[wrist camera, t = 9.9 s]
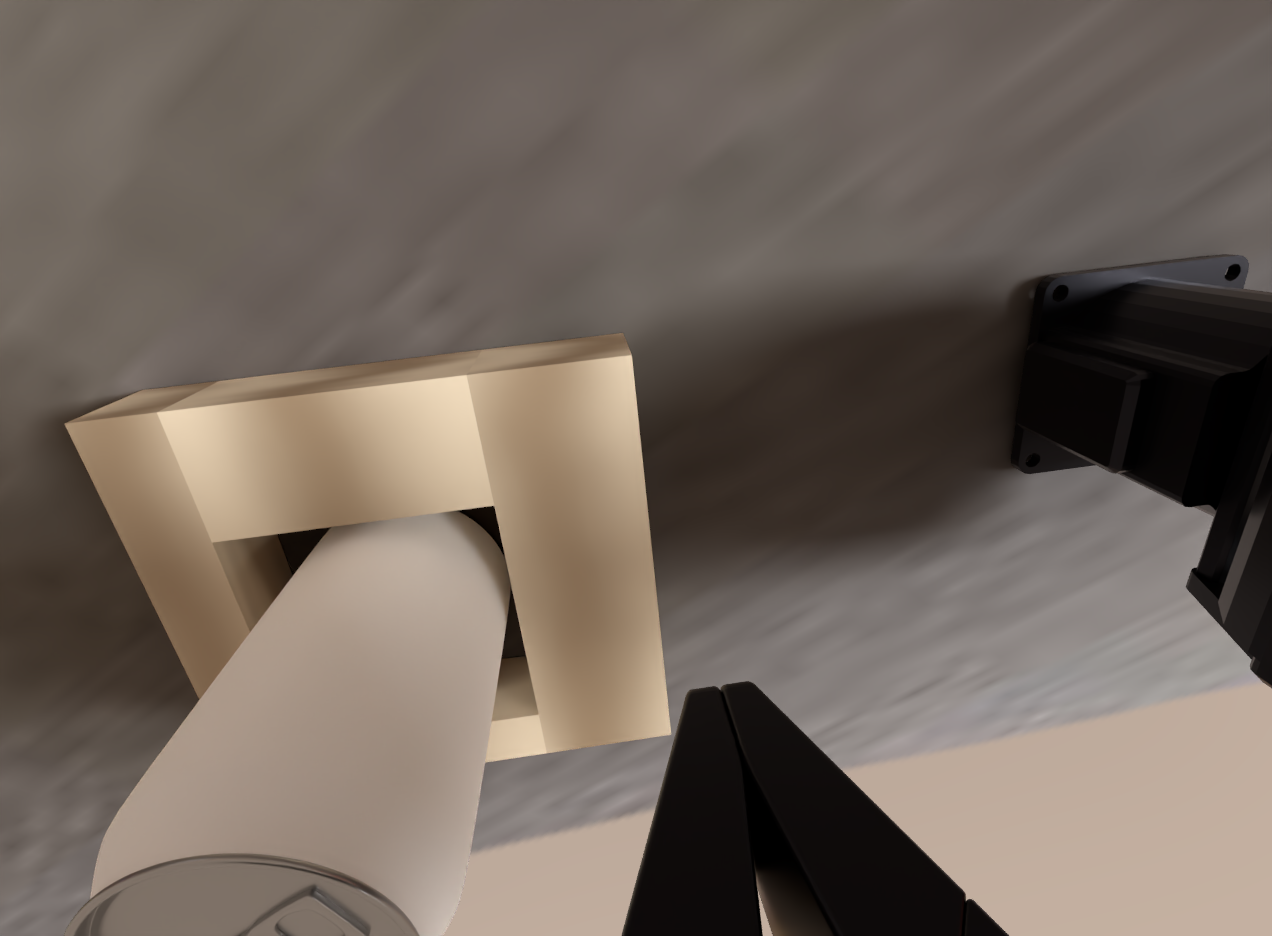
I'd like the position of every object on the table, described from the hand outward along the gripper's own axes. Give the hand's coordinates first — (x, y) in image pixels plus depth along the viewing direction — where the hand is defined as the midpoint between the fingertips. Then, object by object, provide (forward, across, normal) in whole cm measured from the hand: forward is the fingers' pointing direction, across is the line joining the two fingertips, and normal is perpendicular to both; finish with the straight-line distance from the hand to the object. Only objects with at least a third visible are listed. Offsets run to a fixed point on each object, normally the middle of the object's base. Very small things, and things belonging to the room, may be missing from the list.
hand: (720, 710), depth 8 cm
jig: (+12, +8, +4) cm, 15 cm away
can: (+13, +8, +5) cm, 16 cm away
